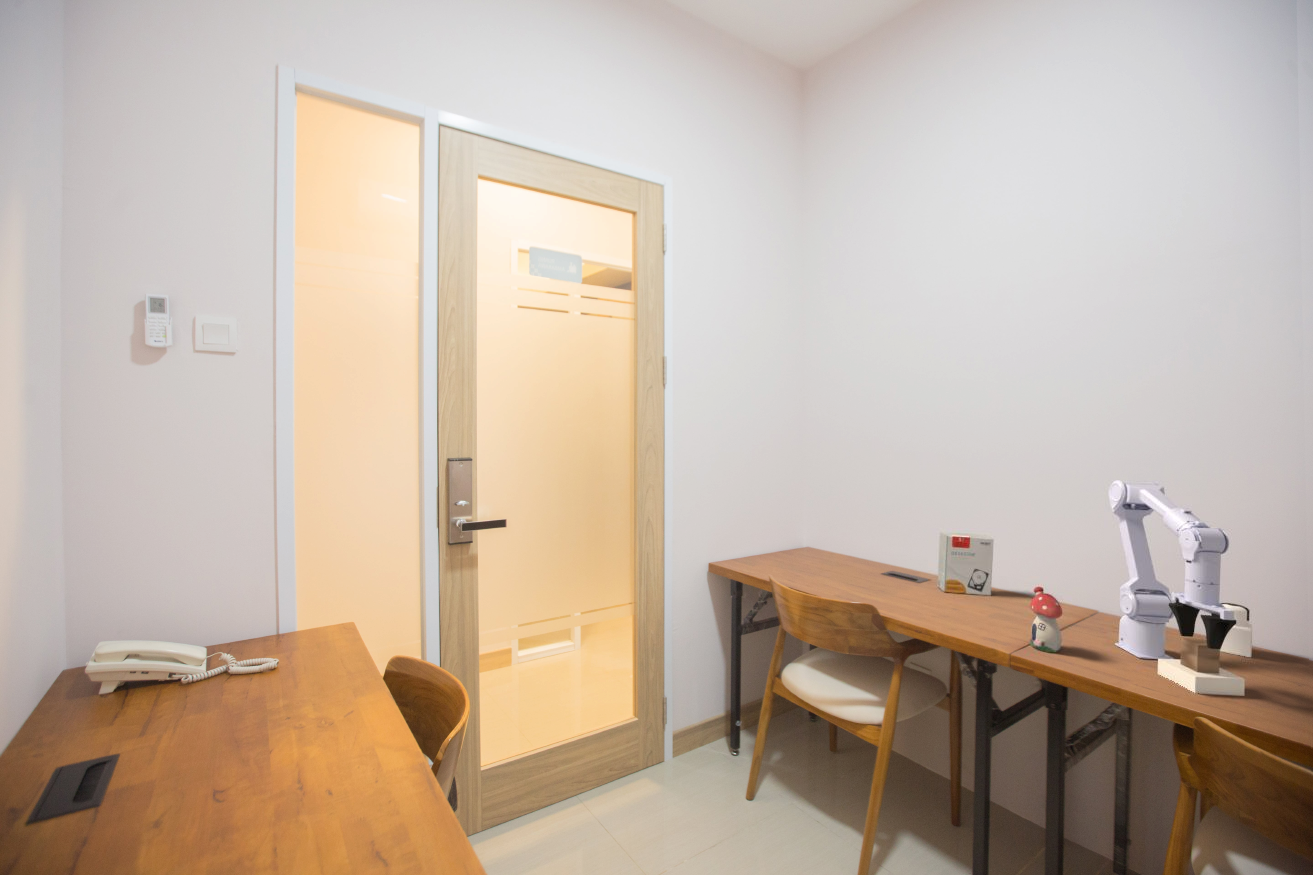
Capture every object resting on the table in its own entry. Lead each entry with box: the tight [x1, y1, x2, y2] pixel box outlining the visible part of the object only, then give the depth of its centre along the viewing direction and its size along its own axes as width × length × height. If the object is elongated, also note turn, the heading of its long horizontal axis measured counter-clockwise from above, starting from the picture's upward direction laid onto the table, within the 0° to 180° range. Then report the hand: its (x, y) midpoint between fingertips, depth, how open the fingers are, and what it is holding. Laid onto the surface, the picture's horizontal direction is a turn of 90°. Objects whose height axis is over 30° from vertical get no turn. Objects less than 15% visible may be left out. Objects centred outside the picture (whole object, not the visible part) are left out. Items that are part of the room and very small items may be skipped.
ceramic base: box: [1157, 658, 1246, 697], centre depth 129 cm, size 10×10×4 cm
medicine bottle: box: [1219, 602, 1253, 658], centre depth 151 cm, size 7×7×12 cm
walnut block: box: [1179, 637, 1221, 673], centre depth 129 cm, size 4×4×6 cm
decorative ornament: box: [1029, 586, 1063, 653], centre depth 150 cm, size 9×6×15 cm
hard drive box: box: [937, 531, 995, 597], centre depth 203 cm, size 16×8×20 cm, turn 81°
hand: (1200, 642), depth 129 cm, fingers open, 7 cm apart
